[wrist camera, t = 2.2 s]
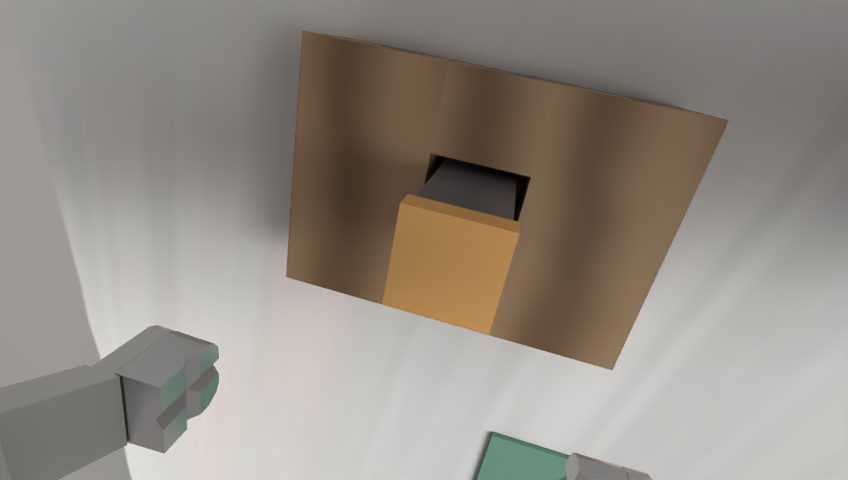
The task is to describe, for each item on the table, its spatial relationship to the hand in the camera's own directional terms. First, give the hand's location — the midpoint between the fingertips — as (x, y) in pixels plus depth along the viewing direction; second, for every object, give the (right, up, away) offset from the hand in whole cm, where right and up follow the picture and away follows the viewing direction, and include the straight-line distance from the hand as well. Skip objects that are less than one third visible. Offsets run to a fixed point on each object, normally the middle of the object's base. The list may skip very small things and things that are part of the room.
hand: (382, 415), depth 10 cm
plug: (+4, +7, +18) cm, 20 cm away
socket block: (+5, +8, +19) cm, 21 cm away
